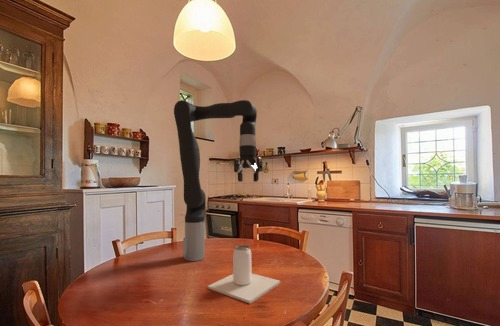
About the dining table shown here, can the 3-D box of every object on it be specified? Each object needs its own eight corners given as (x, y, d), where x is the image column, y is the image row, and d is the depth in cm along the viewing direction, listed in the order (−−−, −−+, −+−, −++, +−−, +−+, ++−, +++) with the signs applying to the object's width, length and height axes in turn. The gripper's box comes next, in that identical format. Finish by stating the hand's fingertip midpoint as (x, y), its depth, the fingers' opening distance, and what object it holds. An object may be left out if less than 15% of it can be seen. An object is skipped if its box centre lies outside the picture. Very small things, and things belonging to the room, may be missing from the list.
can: (249, 286, 83) (249, 250, 84) (230, 285, 84) (230, 249, 85) (253, 279, 89) (253, 245, 90) (236, 277, 91) (236, 244, 91)
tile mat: (207, 288, 84) (207, 285, 84) (240, 272, 98) (240, 270, 98) (250, 303, 73) (250, 300, 73) (280, 283, 88) (280, 280, 88)
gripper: (230, 146, 112) (230, 181, 111) (255, 143, 104) (256, 181, 102) (240, 147, 118) (240, 181, 117) (265, 145, 110) (265, 181, 109)
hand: (247, 181), depth 110 cm, fingers open, 8 cm apart
